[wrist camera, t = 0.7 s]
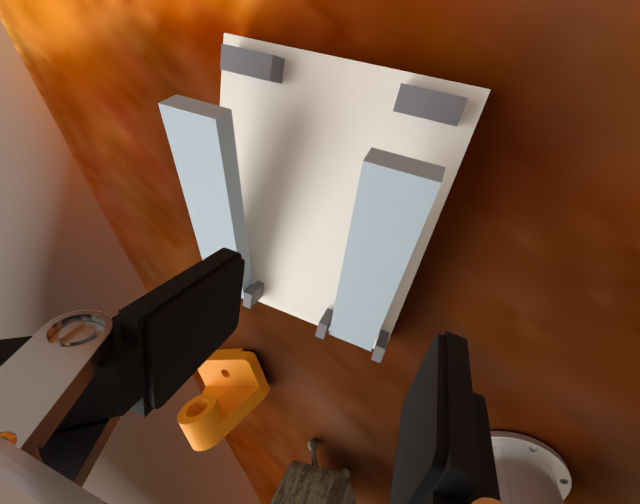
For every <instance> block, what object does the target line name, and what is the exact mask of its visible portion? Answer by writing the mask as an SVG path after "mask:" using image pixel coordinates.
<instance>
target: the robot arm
mask: <svg viewBox="0 0 640 504" xmlns="http://www.w3.org/2000/svg"><path fill="white" fill-rule="evenodd" d="M244 268H245V260H244V259H242V256H241V254H240V253H239V252H236V251H233V250H231V249H228V248H221V249H220V250H218V251H216V252H215V253H213V254H212V255H210V256H208V257H207V258H205V259H203V260H202V261H200V262H198V263H197V264H195V265H193V266H192V267H190V268H188V269H187V270H185V271H183V272H182V273H180V274H178V275H177V276H175V277H174V278H172V279H170V280H169V281H167V282H165V283H164V284H162V285H160V286H159V287H157V288H155V289H154V290H152V291H150V292H149V293H147V294H145V295H144V296H142V297H140V298H139V299H137V300H136V301H134V302H132V303H131V304H129V305H127V306H126V307H124V308H122V309H121V310H119V314H118V315H116V316H115V317H113V318H110V316H109V315H107V314H105V313H103V312H99V311H95V310H81V311H74V312H70V313H67V314H63V315H61V316H59V317H57V318H55V319H52V320H51V321H50V322H48V323H47V324H46V325H44V326H43V327H42V328H41V329H40V330H39V331H38V332H37V333H36V334H35V335H34V336H28V337H19V338H11V339H3V340H0V504H107V503H105V502H103V501H102V500H101V499H99V498H98V497H96V496H94V495H93V494H91V493H90V492H88V491H86V490H85V489H83V488H82V486H83V484H84V482H85V481H86V479H87V477H88V475H89V473H90V472H91V470H92V468H93V466H94V464H95V462H96V461H97V459H98V457H99V455H100V453H101V451H102V450H103V448H104V446H105V444H106V442H107V441H108V438H109V437H110V435H111V433H112V431H113V429H114V428H115V426H116V424H117V422H118V420H119V419H120V416H123V415H124V414H125V413H126V412H127V411H128V410H131V411H133V412H135V413H137V414H139V415H141V416H142V417H146V416H147V415H148V414H149V413H150V412H151V411H152V410H153V409H154V408H155V409H158V408H160V407H161V406H163V405H164V404H165V403H166V402H167V400H169V399H170V398H171V396H173V394H174V393H175V392H176V391H177V390H178V389H179V388H180V387H181V386H182V385H183V384H184V383H185V382H186V381H187V380H188V379H189V378H190V377H191V376H192V375H193V374H194V373H195V372H196V371H197V370H198V368H199V367H200V366H201V365H202V364H203V363H204V362H205V361H206V360H207V359H208V358H209V357H210V356H211V355H212V354H213V353H214V352H215V351H216V350H217V349H218V348H219V347H220V346H221V345H222V343H223V342H224V341H225V340H226V339H227V338H228V337H229V336H230V335H231V334H232V333H233V332H234V331H235V329H236V327H237V325H238V320H239V312H240V303H241V294H242V285H243V277H244ZM571 487H572V479H571V476H570V473H569V470H568V468H567V465H566V463H565V462H564V460H563V459H562V458H561V457H560V455H559V454H558V453H556V452H555V451H554V450H553V449H552V448H550V447H549V446H547V445H546V444H544V443H543V442H540V441H538V440H536V439H534V438H532V437H529V436H526V435H523V434H519V433H514V432H507V431H490V426H489V420H488V413H487V406H486V402H485V399H484V397H483V396H481V395H479V394H476V393H474V392H473V390H472V381H471V372H470V363H469V353H468V344H467V339H465V338H463V337H460V336H458V335H455V334H452V333H450V332H447V331H446V332H445V333H444V334H443V335H441V334H438V333H437V334H436V335H435V337H434V339H433V341H432V343H431V345H430V347H429V349H428V351H427V353H426V355H425V357H424V359H423V361H422V363H421V365H420V367H419V369H418V371H417V373H416V375H415V378H414V380H413V382H412V384H411V386H410V388H409V390H408V392H407V394H406V396H405V399H404V402H403V407H402V414H401V421H400V428H399V436H398V443H397V450H396V458H395V465H394V472H393V480H392V487H391V495H390V502H389V504H564V502H563V500H564V499H565V498H566V497H567V495H568V494H569V493H570V490H571Z"/></svg>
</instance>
